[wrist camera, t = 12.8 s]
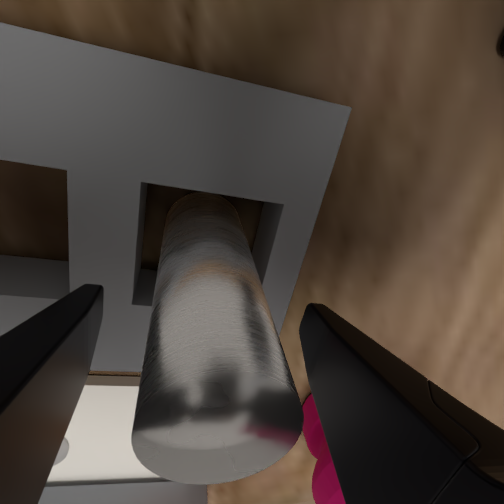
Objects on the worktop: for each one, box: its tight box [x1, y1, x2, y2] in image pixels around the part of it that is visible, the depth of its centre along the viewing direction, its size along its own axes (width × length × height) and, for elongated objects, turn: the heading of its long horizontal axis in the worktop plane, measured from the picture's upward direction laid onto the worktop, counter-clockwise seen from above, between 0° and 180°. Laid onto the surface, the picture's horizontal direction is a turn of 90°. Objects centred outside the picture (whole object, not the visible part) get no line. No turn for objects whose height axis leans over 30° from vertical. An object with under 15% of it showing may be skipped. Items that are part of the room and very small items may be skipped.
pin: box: [131, 192, 304, 485], centre depth 10 cm, size 3×3×9 cm
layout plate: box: [45, 375, 172, 487], centre depth 18 cm, size 16×9×1 cm, turn 78°
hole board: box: [0, 22, 352, 372], centre depth 11 cm, size 20×11×2 cm, turn 78°
